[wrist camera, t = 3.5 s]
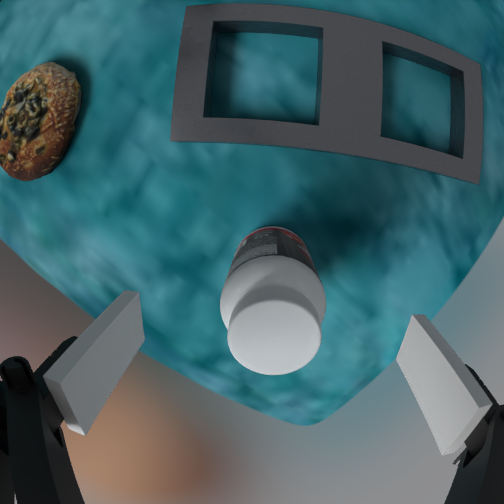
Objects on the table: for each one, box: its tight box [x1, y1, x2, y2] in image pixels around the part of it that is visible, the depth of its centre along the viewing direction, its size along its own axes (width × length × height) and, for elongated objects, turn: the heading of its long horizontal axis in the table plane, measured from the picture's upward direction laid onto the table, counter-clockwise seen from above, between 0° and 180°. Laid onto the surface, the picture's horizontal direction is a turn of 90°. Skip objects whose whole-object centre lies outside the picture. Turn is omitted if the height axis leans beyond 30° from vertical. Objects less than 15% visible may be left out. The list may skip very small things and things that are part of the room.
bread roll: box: [0, 62, 82, 181], centre depth 16 cm, size 11×11×5 cm
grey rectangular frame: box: [170, 4, 483, 185], centre depth 16 cm, size 22×10×2 cm, turn 86°
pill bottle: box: [220, 226, 326, 375], centre depth 16 cm, size 5×5×10 cm
